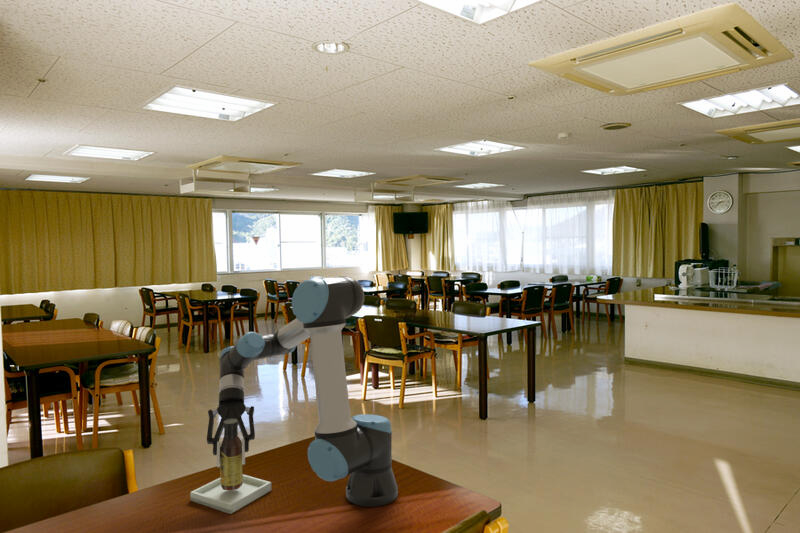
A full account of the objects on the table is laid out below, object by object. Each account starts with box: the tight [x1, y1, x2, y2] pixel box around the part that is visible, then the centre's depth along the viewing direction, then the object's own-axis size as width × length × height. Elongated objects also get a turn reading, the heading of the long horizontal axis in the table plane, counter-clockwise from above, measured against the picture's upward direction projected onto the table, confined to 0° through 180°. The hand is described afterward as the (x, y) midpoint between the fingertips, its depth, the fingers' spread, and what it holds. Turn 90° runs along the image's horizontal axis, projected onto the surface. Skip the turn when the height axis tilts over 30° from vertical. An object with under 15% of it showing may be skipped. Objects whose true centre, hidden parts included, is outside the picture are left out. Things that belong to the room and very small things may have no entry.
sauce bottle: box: [219, 419, 244, 490], centre depth 155 cm, size 6×6×20 cm
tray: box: [190, 473, 272, 515], centre depth 156 cm, size 16×16×2 cm
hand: (230, 463), depth 152 cm, fingers closed on sauce bottle, 6 cm apart
